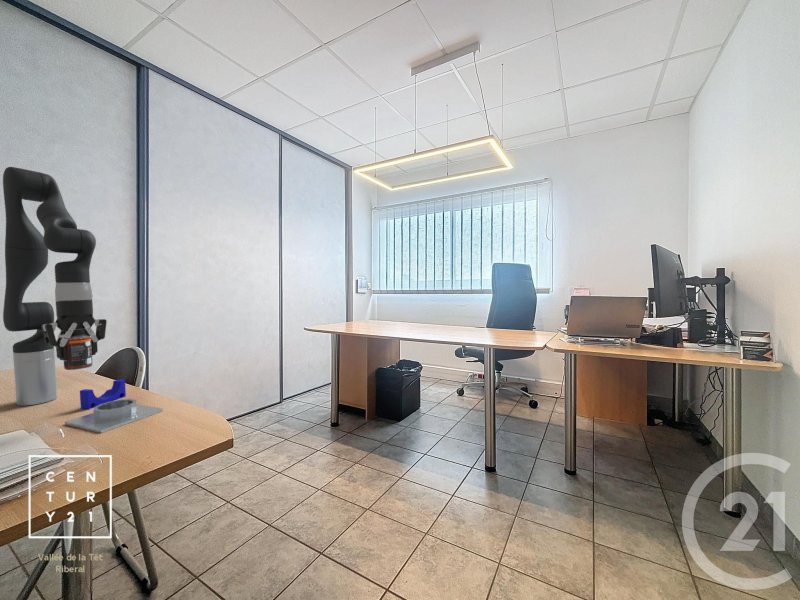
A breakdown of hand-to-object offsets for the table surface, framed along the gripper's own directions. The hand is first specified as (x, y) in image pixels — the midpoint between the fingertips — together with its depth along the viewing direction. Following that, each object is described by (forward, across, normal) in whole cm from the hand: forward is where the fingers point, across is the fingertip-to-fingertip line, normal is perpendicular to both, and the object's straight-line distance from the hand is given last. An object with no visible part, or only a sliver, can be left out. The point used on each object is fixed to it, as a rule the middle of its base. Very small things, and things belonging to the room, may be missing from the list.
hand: (78, 357), depth 96 cm
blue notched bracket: (+18, -11, -12) cm, 24 cm away
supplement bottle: (+3, 0, 0) cm, 3 cm away
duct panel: (+18, -4, +8) cm, 20 cm away
